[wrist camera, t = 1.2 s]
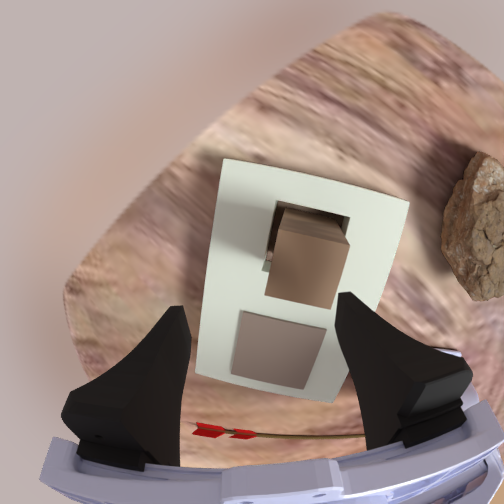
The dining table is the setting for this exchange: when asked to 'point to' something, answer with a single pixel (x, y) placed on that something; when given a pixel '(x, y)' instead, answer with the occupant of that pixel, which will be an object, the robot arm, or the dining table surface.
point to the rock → (477, 229)
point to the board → (278, 310)
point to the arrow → (247, 434)
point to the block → (307, 259)
